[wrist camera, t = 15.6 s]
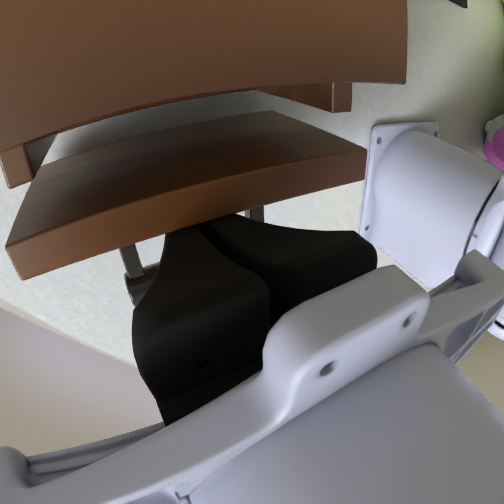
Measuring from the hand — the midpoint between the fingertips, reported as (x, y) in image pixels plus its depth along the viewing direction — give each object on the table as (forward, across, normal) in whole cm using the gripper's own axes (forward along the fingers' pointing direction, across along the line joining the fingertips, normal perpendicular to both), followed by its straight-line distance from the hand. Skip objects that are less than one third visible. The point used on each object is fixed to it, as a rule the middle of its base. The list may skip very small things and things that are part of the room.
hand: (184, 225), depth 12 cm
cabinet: (+5, 0, -13) cm, 14 cm away
